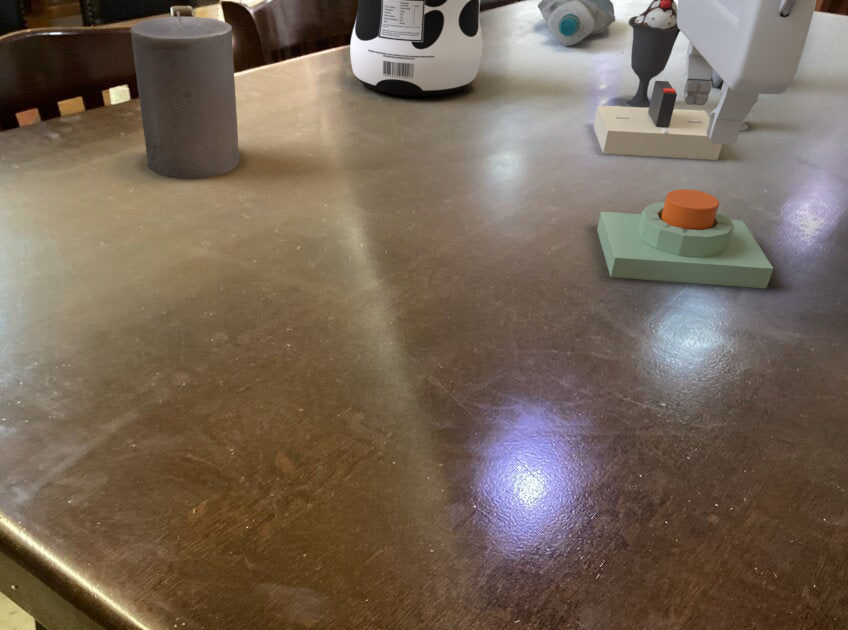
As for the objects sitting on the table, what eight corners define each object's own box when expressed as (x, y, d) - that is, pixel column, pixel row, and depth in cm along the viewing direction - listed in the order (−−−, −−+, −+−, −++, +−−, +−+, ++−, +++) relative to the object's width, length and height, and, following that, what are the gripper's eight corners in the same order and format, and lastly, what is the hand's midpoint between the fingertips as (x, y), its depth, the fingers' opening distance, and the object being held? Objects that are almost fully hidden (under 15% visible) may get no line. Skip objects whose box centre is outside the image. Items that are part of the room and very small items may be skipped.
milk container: (445, 66, 119) (457, -75, 108) (501, 99, 106) (520, -57, 95) (332, 75, 114) (333, -71, 104) (376, 111, 101) (382, -52, 91)
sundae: (648, 118, 100) (680, -16, 91) (601, 105, 104) (627, -24, 95) (676, 108, 103) (709, -22, 95) (630, 96, 107) (657, -30, 99)
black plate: (647, 112, 92) (655, 78, 90) (660, 113, 92) (668, 78, 90) (655, 126, 88) (664, 91, 86) (669, 127, 88) (677, 91, 86)
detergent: (540, 15, 147) (516, 43, 127) (550, -28, 143) (527, -7, 123) (614, 28, 144) (601, 59, 124) (626, -16, 140) (615, 8, 120)
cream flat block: (697, 136, 95) (705, 108, 93) (716, 164, 87) (725, 135, 85) (592, 130, 96) (597, 103, 94) (602, 158, 89) (608, 129, 87)
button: (706, 213, 68) (712, 190, 67) (717, 234, 65) (725, 210, 63) (656, 210, 68) (662, 187, 67) (665, 231, 65) (672, 206, 64)
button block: (735, 243, 72) (749, 200, 69) (764, 293, 64) (781, 247, 62) (596, 234, 73) (605, 191, 71) (609, 282, 66) (619, 236, 63)
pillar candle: (129, 175, 83) (106, 17, 74) (176, 144, 91) (161, -2, 82) (215, 188, 80) (201, 27, 72) (256, 156, 88) (248, 6, 79)
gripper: (873, -64, 46) (788, 173, 54) (771, -99, 62) (718, 86, 70) (756, -69, 46) (690, 166, 55) (686, -102, 63) (643, 82, 71)
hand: (705, 120), depth 63 cm, fingers open, 8 cm apart
